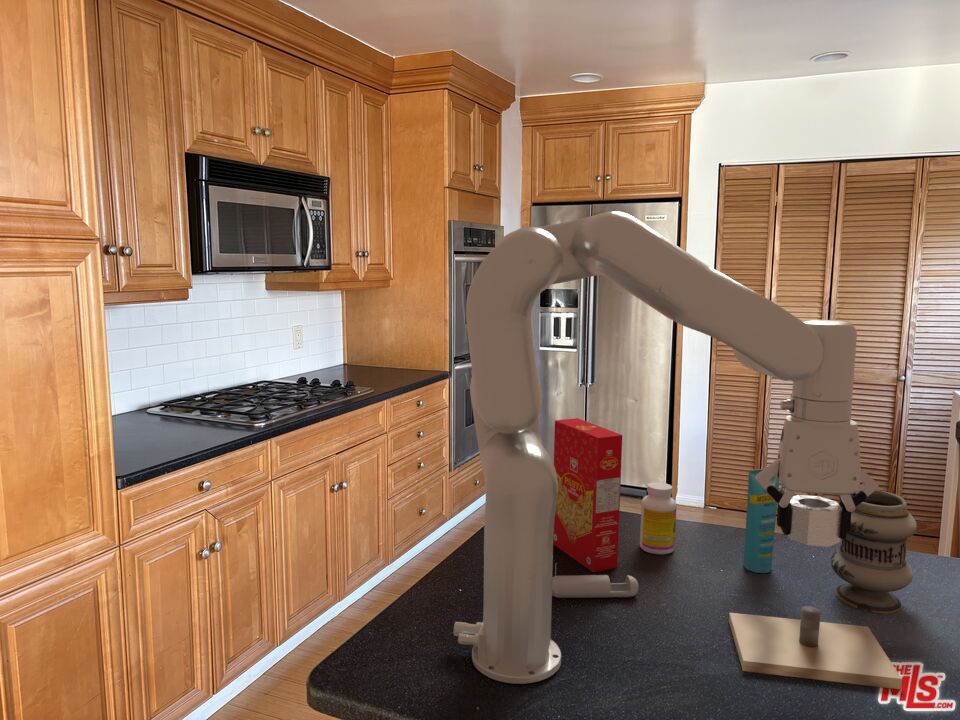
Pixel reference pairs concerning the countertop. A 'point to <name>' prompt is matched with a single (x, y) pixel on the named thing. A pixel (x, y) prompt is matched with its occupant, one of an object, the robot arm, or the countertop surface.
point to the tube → (759, 525)
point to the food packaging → (587, 492)
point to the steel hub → (815, 520)
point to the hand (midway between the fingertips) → (812, 532)
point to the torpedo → (592, 587)
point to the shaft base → (812, 649)
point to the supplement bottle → (658, 519)
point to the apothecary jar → (875, 554)
